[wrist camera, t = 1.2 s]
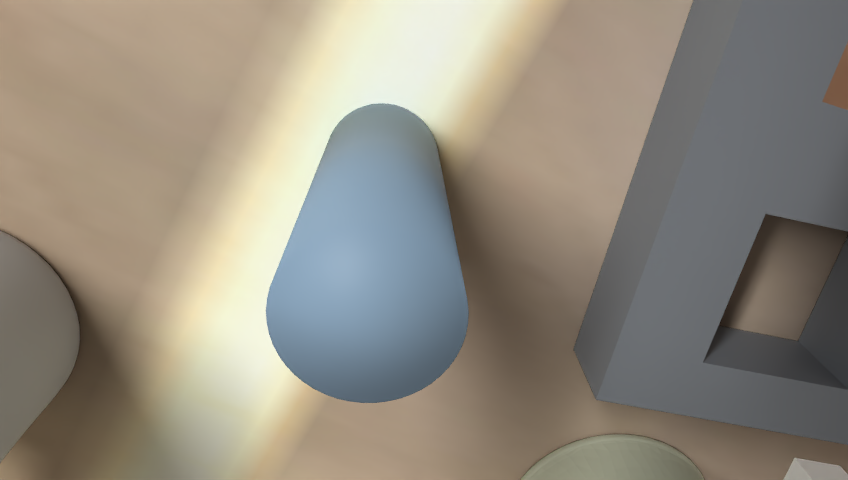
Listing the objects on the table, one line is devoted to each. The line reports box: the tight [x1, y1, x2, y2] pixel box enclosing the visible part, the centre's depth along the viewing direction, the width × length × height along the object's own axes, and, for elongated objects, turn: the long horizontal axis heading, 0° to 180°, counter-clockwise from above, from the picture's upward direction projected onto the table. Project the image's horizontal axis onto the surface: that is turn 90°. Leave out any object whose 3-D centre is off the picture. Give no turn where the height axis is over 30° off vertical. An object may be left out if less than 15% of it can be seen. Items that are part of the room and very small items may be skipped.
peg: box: [266, 104, 469, 403], centre depth 20 cm, size 4×4×12 cm
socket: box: [574, 0, 848, 445], centre depth 24 cm, size 16×12×4 cm
